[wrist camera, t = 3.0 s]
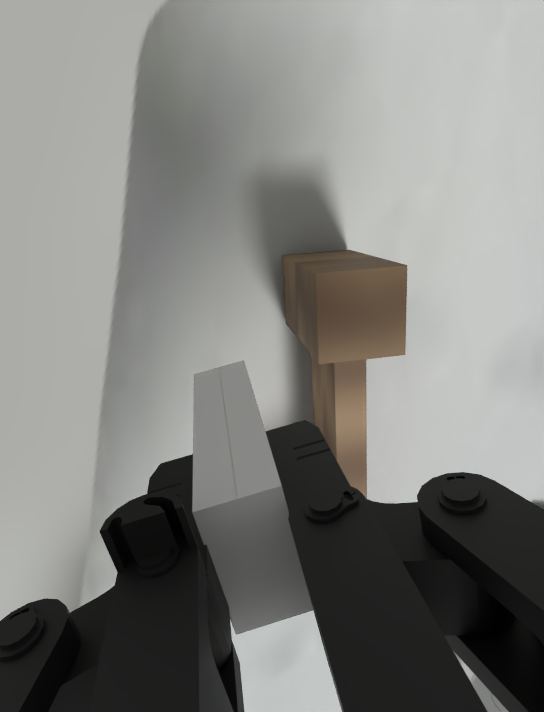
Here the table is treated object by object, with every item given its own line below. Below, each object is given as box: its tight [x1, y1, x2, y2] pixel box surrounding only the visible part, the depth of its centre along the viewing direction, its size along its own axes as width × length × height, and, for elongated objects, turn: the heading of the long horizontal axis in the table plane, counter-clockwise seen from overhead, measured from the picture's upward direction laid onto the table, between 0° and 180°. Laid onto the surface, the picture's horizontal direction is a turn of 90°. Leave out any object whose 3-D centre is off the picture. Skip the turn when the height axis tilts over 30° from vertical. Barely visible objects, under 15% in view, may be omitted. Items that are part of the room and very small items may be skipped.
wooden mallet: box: [282, 250, 407, 499], centre depth 27 cm, size 18×4×8 cm, turn 4°
